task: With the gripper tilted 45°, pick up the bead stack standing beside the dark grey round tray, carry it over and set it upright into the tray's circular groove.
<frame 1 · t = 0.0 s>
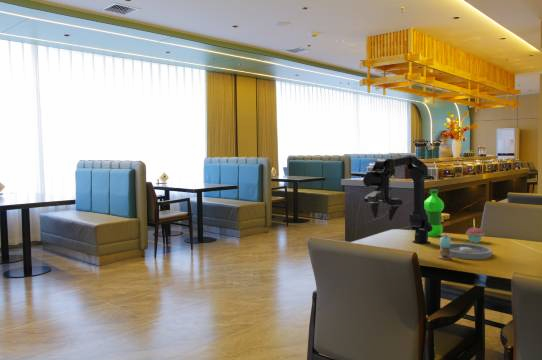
hand: (382, 218, 212), 15 cm above the table, tool pointing down, fingers open, 9 cm apart
plastic bottle: (433, 236, 246), on the table
bead stack: (444, 258, 196), on the table
groove tray: (465, 253, 205), on the table
cupcake: (475, 242, 230), on the table
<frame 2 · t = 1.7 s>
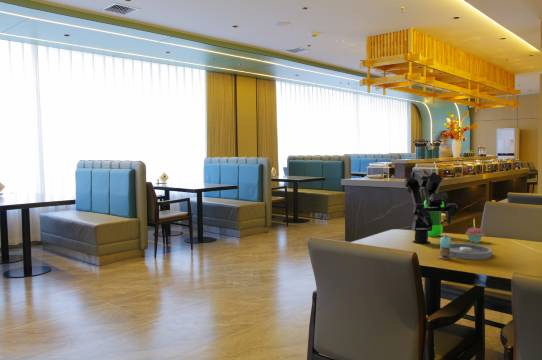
hand: (438, 224, 202), 13 cm above the table, tool tilted 45°, fingers open, 9 cm apart
nothing on the table moved.
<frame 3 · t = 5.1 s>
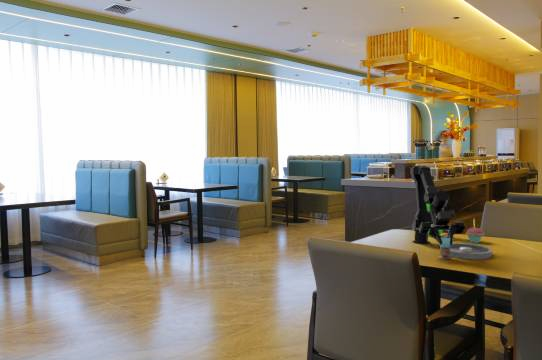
hand: (446, 244, 194), 7 cm above the table, tool tilted 45°, fingers closed on bead stack, 4 cm apart
bead stack: (444, 258, 196), on the table, touching gripper
everything else where it was.
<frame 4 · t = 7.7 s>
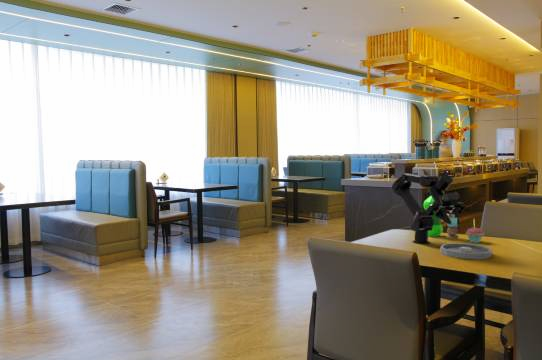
hand: (454, 223, 205), 13 cm above the table, tool tilted 45°, fingers closed on bead stack, 4 cm apart
bead stack: (452, 237, 207), point 7 cm above the table, touching gripper
everything else where it was.
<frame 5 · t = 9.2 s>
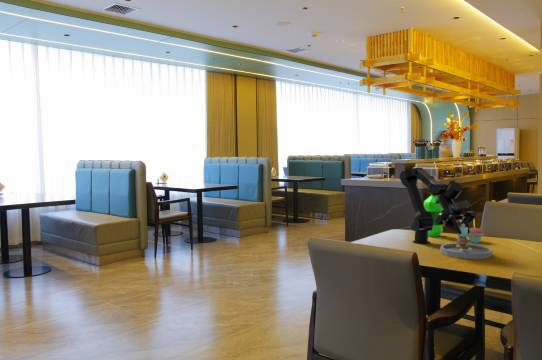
hand: (464, 233, 199), 10 cm above the table, tool tilted 45°, fingers closed on bead stack, 4 cm apart
bead stack: (462, 247, 201), point 4 cm above the table, touching gripper
everything else where it was.
when the fingers open (9 cm above the table, at t = 10.5 s): bead stack drops 1 cm, resting on groove tray.
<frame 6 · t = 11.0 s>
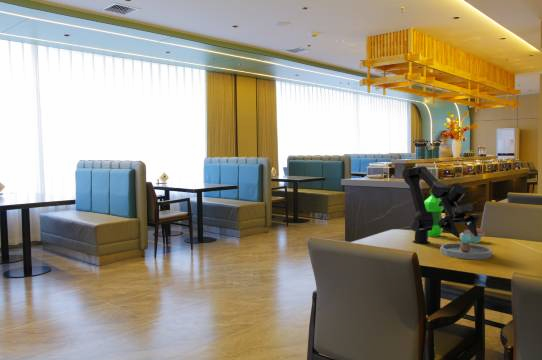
hand: (468, 236, 197), 9 cm above the table, tool tilted 45°, fingers open, 9 cm apart
bead stack: (465, 254, 199), point 1 cm above the table, touching groove tray
everything else where it was.
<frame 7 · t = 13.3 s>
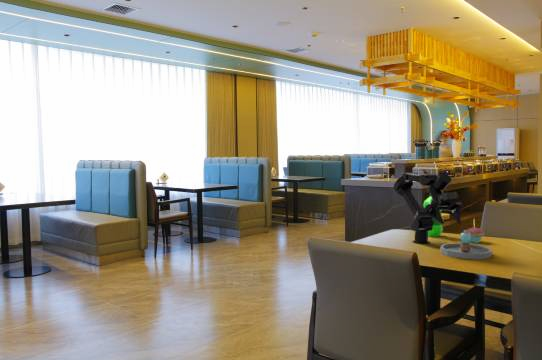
hand: (451, 223, 205), 13 cm above the table, tool tilted 45°, fingers open, 9 cm apart
nothing on the table moved.
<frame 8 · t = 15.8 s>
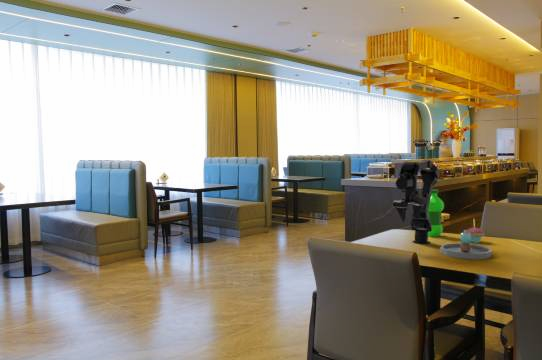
hand: (409, 220, 216), 13 cm above the table, tool pointing down, fingers open, 9 cm apart
nothing on the table moved.
at the end: bead stack 5.9 cm from the groove tray (horizontally); bead stack point 1.0 cm above the table; bead stack tilted 0° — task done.
